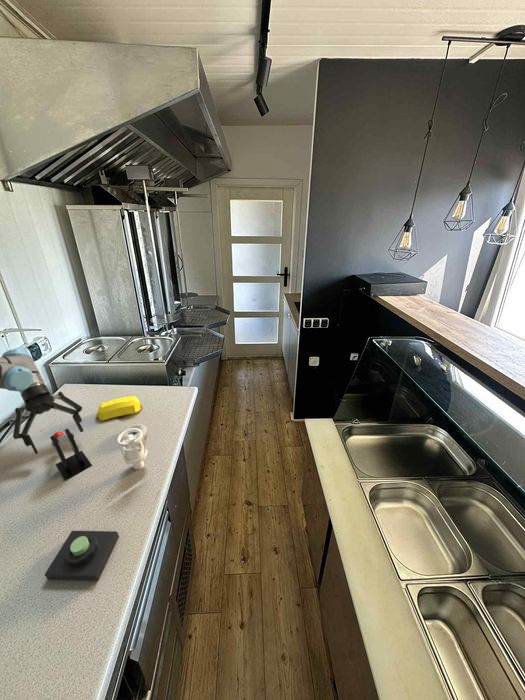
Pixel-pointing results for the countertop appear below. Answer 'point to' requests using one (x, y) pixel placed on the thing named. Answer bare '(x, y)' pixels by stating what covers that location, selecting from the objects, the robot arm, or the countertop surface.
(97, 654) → the countertop surface
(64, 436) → the lever
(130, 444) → the white tall carved piece
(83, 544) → the button
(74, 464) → the bracket
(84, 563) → the black base plate
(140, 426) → the donut
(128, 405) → the yellow bar
